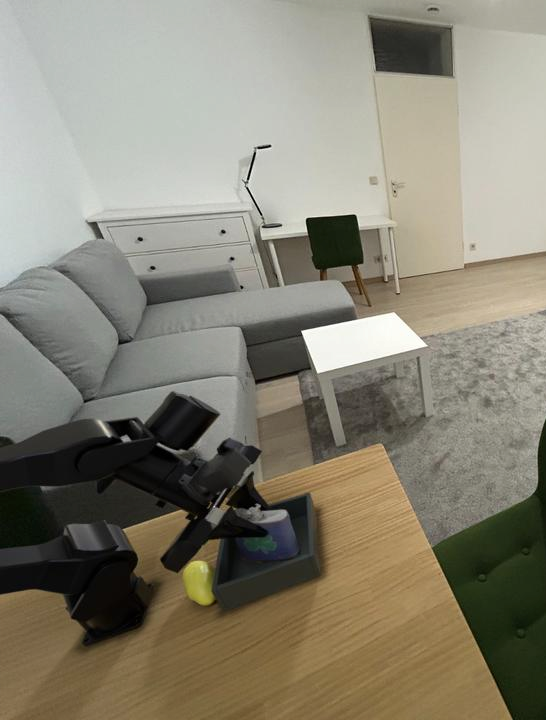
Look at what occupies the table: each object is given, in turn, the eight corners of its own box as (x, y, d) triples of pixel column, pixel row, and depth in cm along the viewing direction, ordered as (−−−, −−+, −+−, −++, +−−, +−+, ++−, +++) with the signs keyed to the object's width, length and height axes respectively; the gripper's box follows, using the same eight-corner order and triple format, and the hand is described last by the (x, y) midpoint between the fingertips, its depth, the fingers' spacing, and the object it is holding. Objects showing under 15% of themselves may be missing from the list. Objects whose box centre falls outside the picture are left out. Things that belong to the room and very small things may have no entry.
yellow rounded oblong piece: (185, 580, 60) (213, 563, 62) (198, 619, 55) (229, 599, 57) (174, 563, 58) (204, 546, 60) (187, 603, 53) (219, 582, 55)
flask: (302, 546, 64) (287, 500, 59) (295, 563, 61) (278, 516, 56) (247, 545, 64) (227, 499, 59) (237, 562, 61) (215, 515, 56)
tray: (223, 612, 56) (211, 591, 53) (233, 537, 66) (224, 517, 64) (320, 575, 60) (313, 555, 58) (316, 511, 71) (309, 491, 68)
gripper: (147, 498, 43) (274, 555, 49) (231, 402, 60) (319, 453, 65) (106, 548, 47) (230, 596, 52) (196, 444, 63) (283, 490, 69)
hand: (271, 525), depth 60 cm, fingers closed on flask, 3 cm apart
